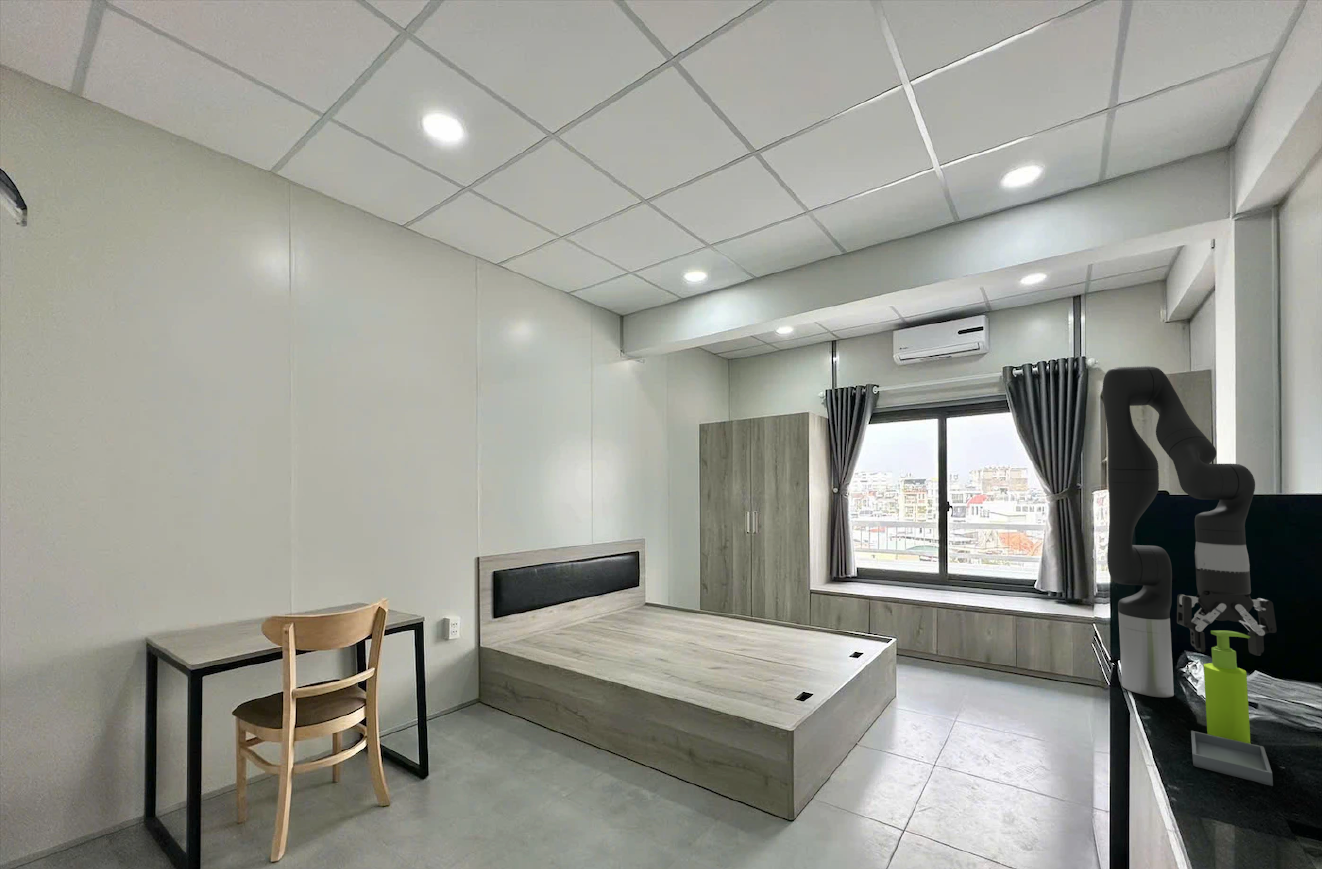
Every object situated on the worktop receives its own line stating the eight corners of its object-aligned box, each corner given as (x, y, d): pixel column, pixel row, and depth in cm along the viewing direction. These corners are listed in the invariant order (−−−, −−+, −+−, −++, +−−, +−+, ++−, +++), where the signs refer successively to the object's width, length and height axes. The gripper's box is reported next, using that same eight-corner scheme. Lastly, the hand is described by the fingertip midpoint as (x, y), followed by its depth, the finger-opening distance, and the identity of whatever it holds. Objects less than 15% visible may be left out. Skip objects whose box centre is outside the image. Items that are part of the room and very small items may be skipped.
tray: (1191, 741, 108) (1191, 730, 108) (1264, 758, 102) (1263, 746, 102) (1193, 766, 99) (1192, 754, 100) (1273, 786, 93) (1272, 773, 93)
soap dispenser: (1266, 747, 106) (1259, 637, 107) (1222, 744, 107) (1215, 634, 108) (1241, 733, 112) (1235, 628, 113) (1199, 730, 113) (1193, 626, 114)
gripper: (1254, 565, 113) (1259, 650, 112) (1166, 562, 117) (1171, 643, 116) (1282, 571, 106) (1288, 662, 105) (1188, 568, 110) (1193, 654, 109)
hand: (1227, 652), depth 110 cm, fingers open, 8 cm apart
